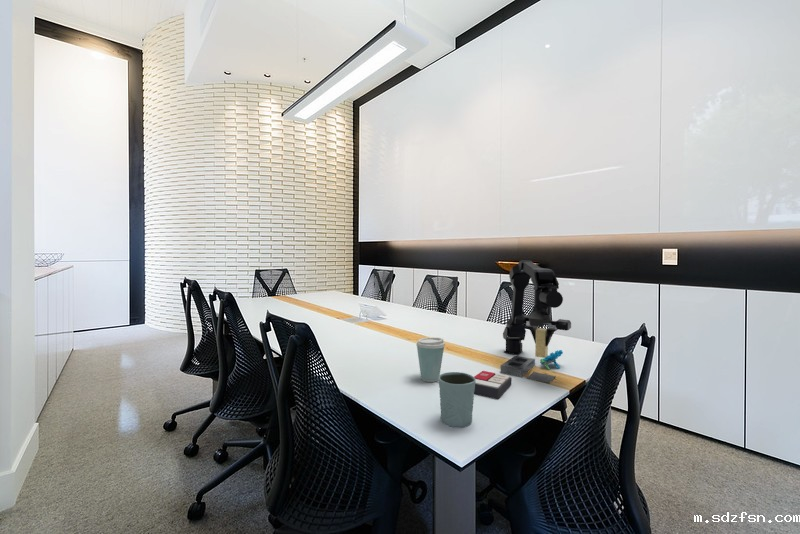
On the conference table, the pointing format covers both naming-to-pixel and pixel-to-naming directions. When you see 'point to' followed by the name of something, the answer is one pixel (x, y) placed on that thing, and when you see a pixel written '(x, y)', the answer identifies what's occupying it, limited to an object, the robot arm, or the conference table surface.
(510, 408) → the conference table surface
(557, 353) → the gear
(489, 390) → the calculator
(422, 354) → the disposable coffee cup
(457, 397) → the green tumbler cup
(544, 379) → the rubber pad
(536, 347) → the brass peg
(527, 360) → the grey cinder block
